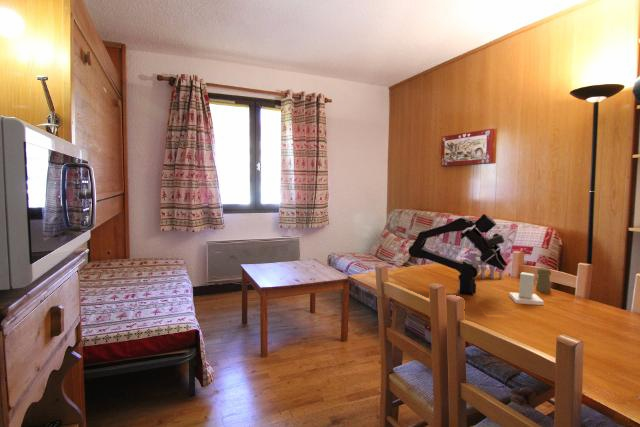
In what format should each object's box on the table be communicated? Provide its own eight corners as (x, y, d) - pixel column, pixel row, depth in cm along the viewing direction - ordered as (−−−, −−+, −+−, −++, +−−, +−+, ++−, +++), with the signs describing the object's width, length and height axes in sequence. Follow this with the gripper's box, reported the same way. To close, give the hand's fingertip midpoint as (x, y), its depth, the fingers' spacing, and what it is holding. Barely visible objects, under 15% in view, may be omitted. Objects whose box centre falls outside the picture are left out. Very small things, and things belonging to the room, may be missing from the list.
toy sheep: (468, 279, 180) (468, 253, 179) (458, 275, 190) (458, 250, 190) (504, 278, 182) (504, 252, 181) (492, 274, 192) (492, 249, 192)
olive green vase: (553, 294, 155) (554, 270, 154) (538, 293, 156) (539, 269, 156) (547, 290, 161) (548, 267, 160) (533, 289, 162) (534, 266, 161)
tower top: (516, 303, 142) (516, 299, 142) (509, 295, 152) (509, 292, 152) (543, 305, 140) (543, 301, 140) (534, 297, 150) (535, 293, 149)
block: (518, 296, 145) (520, 273, 145) (520, 293, 149) (522, 272, 148) (531, 298, 143) (533, 275, 142) (532, 296, 146) (534, 274, 146)
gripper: (489, 230, 143) (519, 259, 138) (495, 225, 159) (522, 252, 154) (468, 247, 148) (496, 276, 143) (476, 241, 164) (501, 267, 159)
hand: (505, 267), depth 149 cm, fingers open, 9 cm apart
